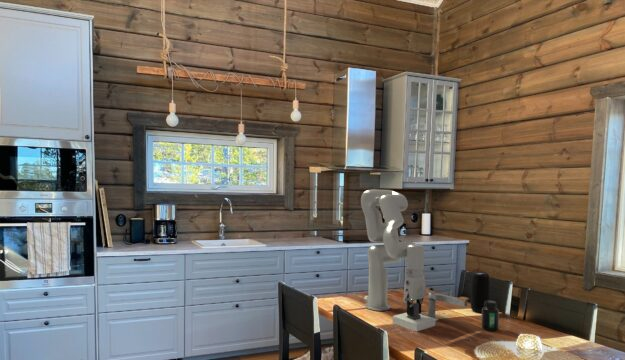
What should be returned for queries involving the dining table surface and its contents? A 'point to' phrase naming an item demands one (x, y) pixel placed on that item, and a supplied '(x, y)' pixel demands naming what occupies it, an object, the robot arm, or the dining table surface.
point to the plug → (415, 312)
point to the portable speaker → (479, 290)
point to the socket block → (419, 323)
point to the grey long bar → (448, 299)
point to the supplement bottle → (490, 316)
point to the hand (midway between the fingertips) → (413, 313)
